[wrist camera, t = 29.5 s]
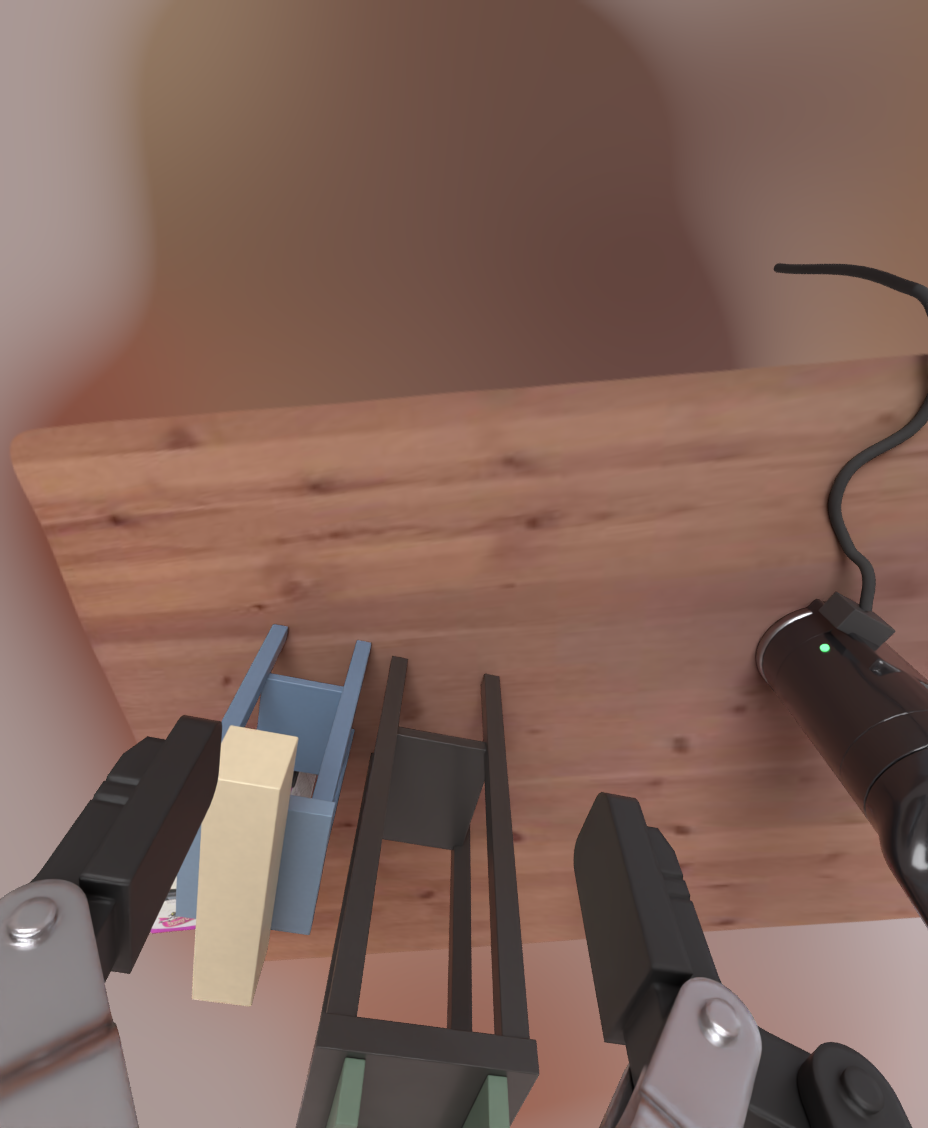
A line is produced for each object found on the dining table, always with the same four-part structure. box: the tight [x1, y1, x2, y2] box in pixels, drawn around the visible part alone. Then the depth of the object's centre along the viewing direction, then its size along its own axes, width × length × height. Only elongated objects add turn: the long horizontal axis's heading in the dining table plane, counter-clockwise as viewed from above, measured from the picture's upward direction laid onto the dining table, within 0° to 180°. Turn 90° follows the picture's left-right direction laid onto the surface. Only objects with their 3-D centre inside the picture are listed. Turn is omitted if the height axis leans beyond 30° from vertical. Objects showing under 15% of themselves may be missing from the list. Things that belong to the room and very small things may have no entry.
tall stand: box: [296, 656, 539, 1128], centre depth 45 cm, size 14×11×34 cm
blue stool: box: [176, 624, 372, 935], centre depth 50 cm, size 13×10×20 cm
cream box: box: [192, 725, 298, 1006], centre depth 38 cm, size 21×4×4 cm, turn 167°
